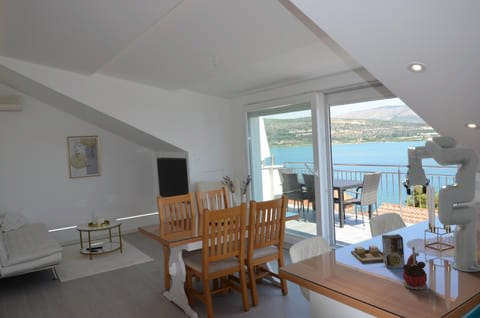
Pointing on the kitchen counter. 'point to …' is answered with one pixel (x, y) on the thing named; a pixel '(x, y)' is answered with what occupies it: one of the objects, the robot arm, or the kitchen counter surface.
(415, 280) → the cake
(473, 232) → the robot arm
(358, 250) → the beech block
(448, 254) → the kitchen counter surface
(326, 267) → the kitchen counter surface
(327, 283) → the kitchen counter surface
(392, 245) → the coffee box
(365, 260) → the tray
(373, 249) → the beech block
